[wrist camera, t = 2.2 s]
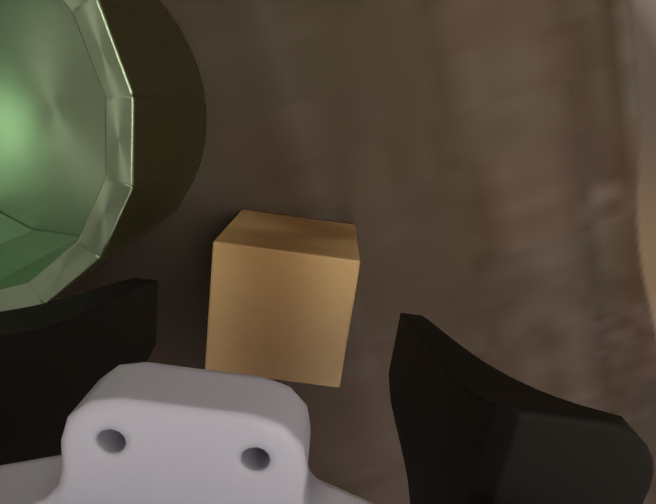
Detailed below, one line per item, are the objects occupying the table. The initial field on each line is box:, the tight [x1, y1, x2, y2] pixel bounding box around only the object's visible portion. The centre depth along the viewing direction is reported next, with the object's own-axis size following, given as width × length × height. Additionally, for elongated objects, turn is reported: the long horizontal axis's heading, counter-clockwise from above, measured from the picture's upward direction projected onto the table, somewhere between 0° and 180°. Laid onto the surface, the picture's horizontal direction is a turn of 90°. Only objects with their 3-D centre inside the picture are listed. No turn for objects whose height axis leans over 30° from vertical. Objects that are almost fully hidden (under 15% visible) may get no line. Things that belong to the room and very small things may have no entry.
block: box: [205, 210, 360, 387], centre depth 17 cm, size 4×4×4 cm
